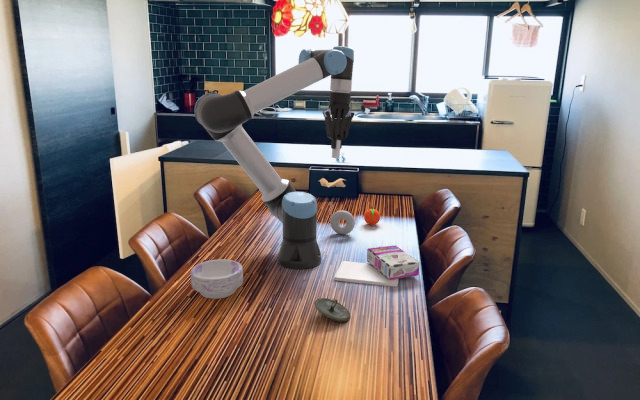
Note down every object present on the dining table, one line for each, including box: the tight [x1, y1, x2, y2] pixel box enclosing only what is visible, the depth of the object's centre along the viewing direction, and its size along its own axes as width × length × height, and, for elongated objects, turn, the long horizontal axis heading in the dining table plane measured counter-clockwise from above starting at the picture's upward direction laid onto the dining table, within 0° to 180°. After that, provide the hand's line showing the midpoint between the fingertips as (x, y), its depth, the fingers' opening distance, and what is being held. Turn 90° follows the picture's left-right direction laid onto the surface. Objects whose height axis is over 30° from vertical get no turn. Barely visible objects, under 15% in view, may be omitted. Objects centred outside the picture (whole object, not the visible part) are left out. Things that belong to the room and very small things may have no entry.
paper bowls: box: [190, 258, 244, 300], centre depth 151 cm, size 15×15×8 cm
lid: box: [313, 297, 351, 323], centre depth 138 cm, size 11×10×5 cm
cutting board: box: [333, 260, 400, 288], centre depth 166 cm, size 14×20×1 cm
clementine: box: [363, 208, 381, 226], centre depth 215 cm, size 8×7×7 cm
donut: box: [329, 210, 356, 235], centre depth 203 cm, size 10×3×10 cm, turn 76°
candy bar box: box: [366, 245, 421, 280], centre depth 168 cm, size 11×5×16 cm
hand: (335, 157), depth 185 cm, fingers closed
